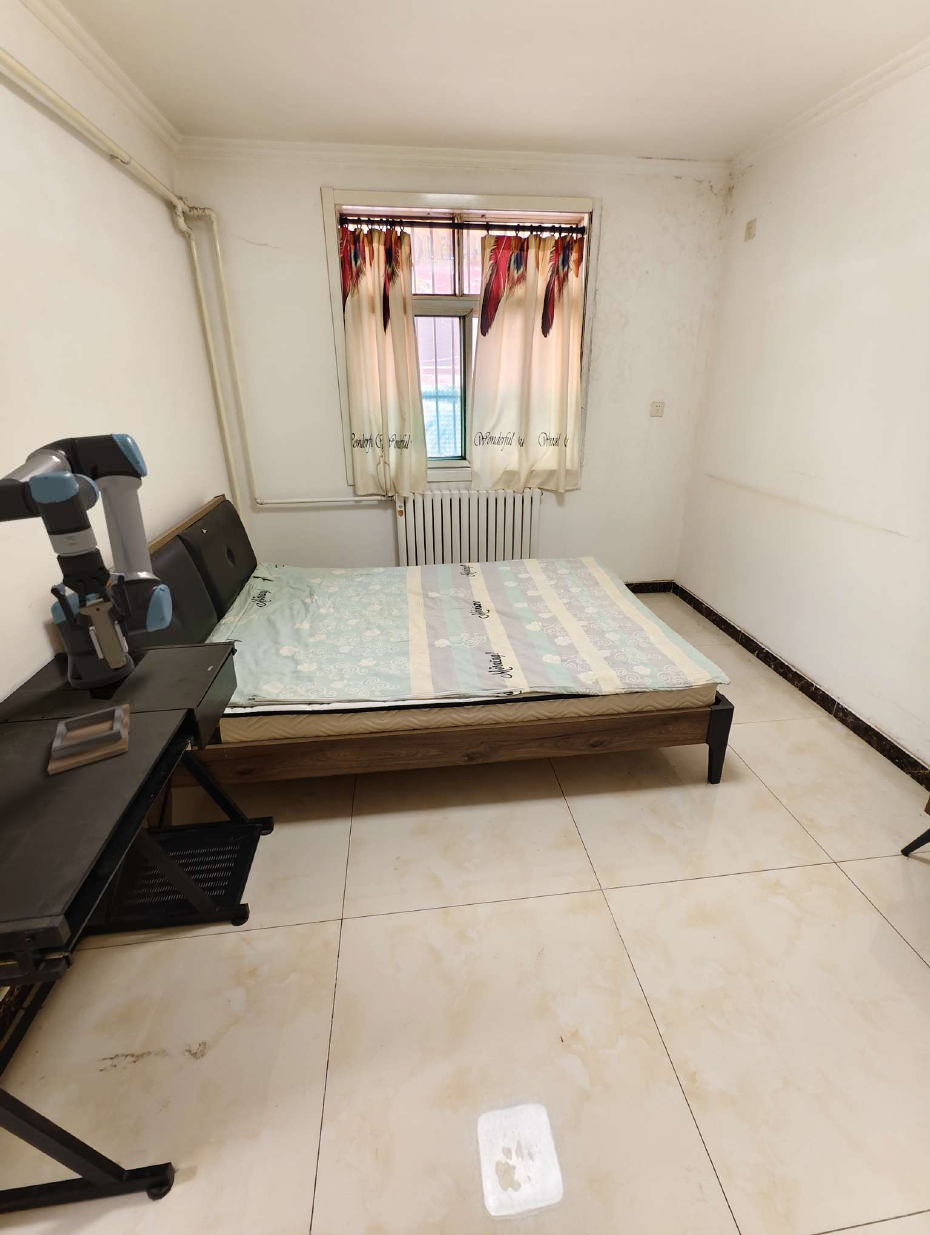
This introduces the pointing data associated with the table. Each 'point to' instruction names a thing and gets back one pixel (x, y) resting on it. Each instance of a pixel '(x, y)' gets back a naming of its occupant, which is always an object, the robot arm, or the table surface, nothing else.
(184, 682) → the table surface
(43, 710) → the table surface
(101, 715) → the collar board
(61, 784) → the table surface
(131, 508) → the robot arm
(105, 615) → the handle
